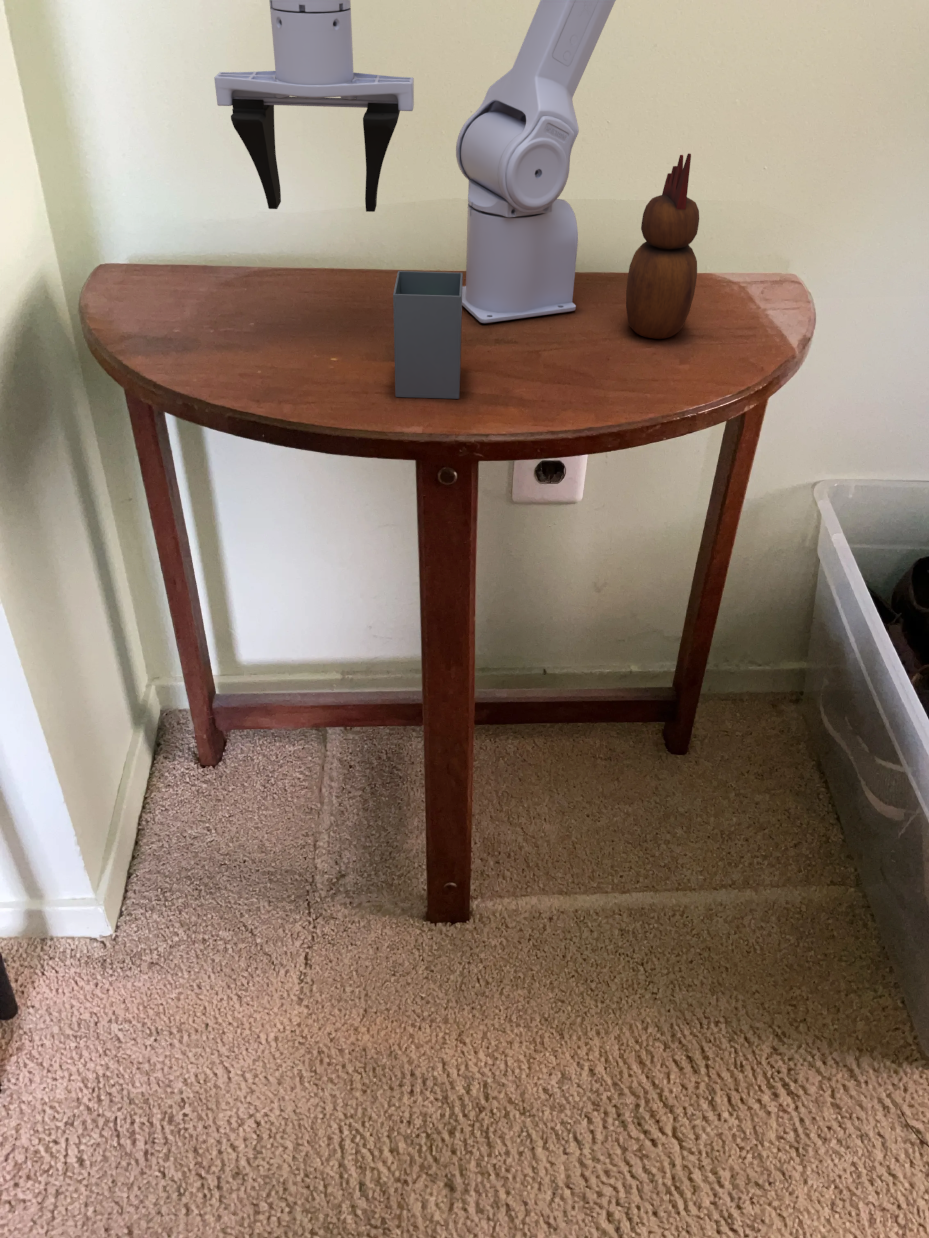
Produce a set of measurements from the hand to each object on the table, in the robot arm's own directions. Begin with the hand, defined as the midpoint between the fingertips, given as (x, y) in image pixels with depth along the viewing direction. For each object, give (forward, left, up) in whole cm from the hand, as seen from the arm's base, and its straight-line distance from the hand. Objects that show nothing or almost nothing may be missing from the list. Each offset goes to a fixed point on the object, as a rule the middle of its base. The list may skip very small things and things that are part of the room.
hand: (323, 206), depth 79 cm
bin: (-4, +12, -10) cm, 17 cm away
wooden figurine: (-27, +9, -11) cm, 30 cm away
